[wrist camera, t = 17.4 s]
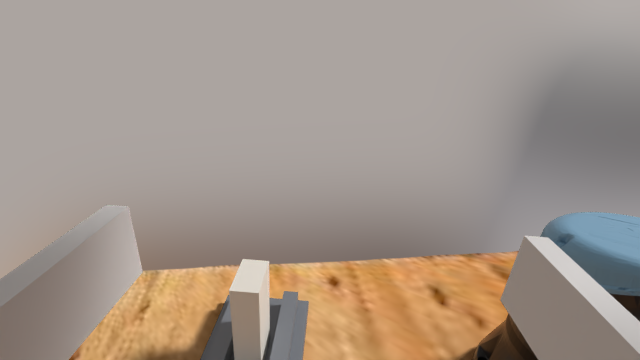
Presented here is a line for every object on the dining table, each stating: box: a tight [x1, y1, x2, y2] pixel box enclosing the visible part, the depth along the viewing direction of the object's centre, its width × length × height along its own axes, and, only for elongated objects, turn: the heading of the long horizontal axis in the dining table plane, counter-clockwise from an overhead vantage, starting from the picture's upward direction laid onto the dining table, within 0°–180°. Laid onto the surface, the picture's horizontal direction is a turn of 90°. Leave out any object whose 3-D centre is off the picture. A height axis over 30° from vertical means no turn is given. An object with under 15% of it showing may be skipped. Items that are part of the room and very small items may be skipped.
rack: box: [200, 291, 309, 360], centre depth 38 cm, size 12×18×4 cm, turn 177°
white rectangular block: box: [229, 259, 270, 360], centre depth 36 cm, size 3×5×12 cm, turn 177°
